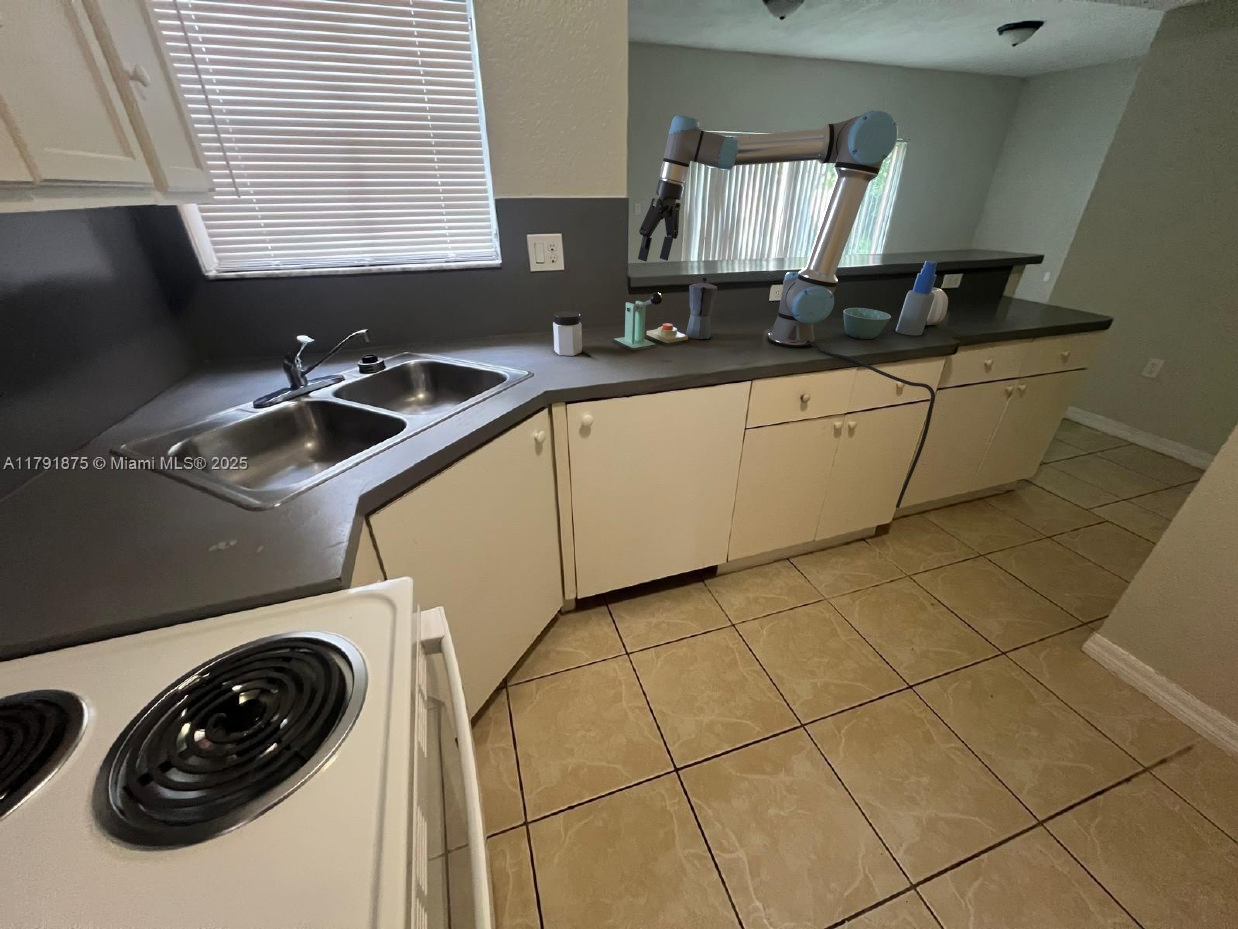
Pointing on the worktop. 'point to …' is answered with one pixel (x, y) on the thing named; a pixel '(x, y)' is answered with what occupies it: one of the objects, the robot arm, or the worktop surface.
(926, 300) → the spray bottle
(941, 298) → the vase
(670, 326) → the button
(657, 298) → the lever
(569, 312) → the jar
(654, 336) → the button block
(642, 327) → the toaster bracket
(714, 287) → the moka pot
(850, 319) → the bowl
